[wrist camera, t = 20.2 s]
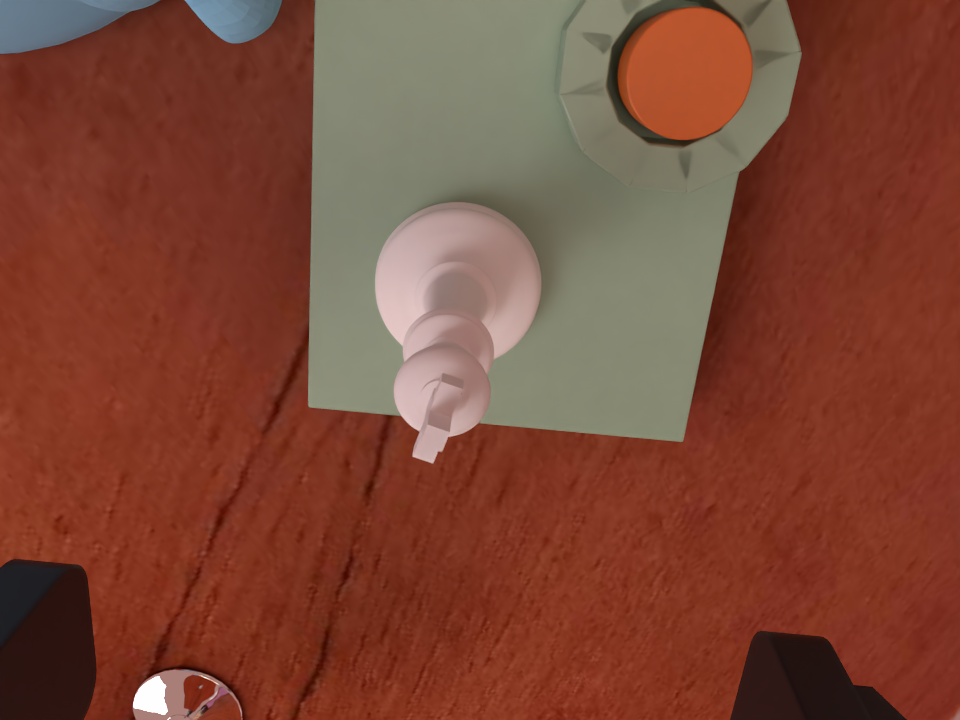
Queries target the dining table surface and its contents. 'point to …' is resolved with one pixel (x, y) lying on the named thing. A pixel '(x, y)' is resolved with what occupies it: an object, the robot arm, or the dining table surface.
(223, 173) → the dining table surface
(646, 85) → the button
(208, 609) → the dining table surface
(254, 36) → the teapot
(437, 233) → the chess piece
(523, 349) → the orange button base
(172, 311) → the dining table surface
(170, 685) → the wineglass
